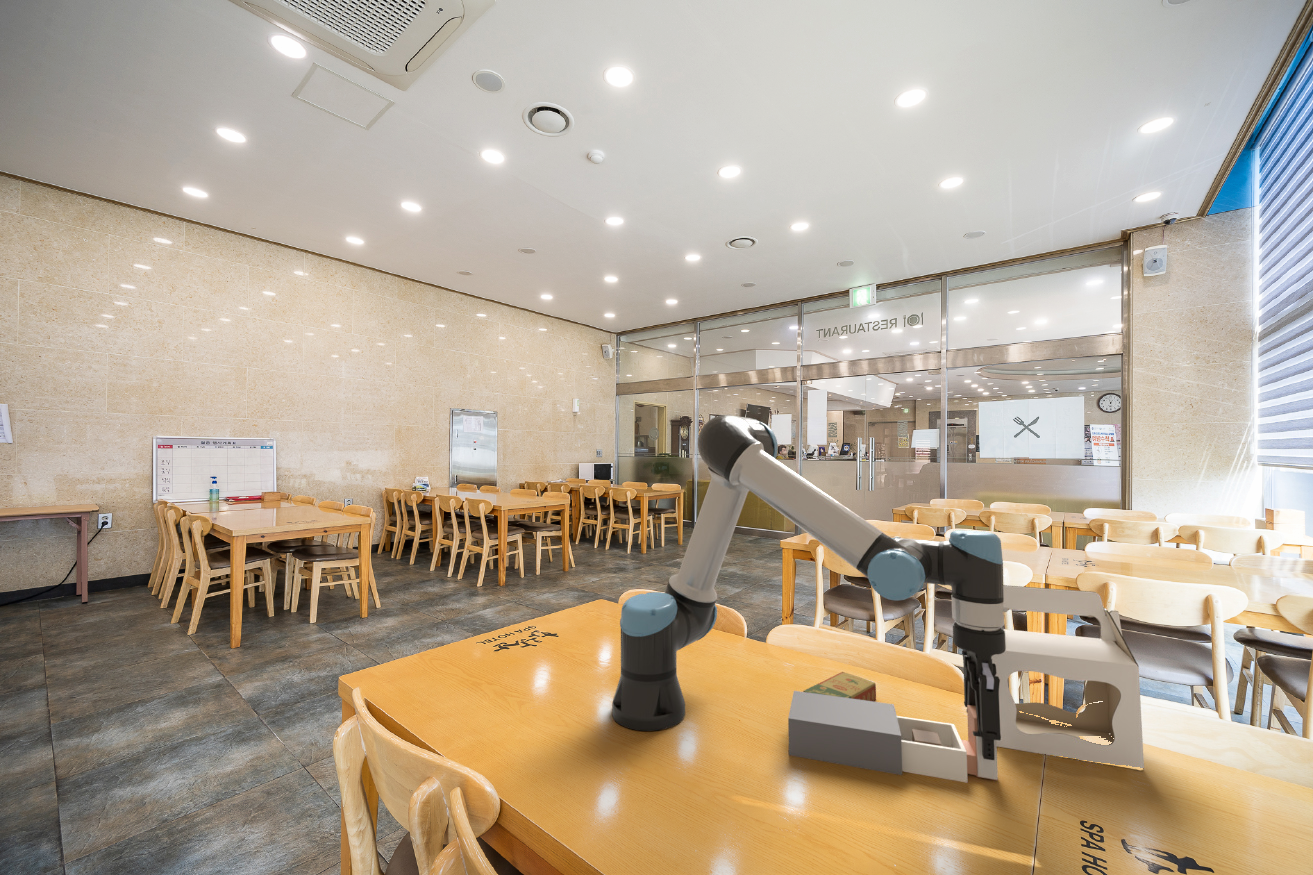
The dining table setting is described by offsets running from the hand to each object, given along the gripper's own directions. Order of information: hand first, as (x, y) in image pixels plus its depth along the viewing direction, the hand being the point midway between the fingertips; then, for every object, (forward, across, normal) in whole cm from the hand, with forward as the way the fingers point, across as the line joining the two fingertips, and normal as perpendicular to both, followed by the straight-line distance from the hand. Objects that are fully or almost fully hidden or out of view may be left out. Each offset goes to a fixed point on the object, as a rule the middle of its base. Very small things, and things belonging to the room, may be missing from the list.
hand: (982, 766), depth 86 cm
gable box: (+2, +17, -15) cm, 23 cm away
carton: (+2, +20, +22) cm, 30 cm away
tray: (+1, 0, +9) cm, 9 cm away
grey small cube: (0, 0, +8) cm, 8 cm away
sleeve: (+1, 0, +22) cm, 22 cm away
